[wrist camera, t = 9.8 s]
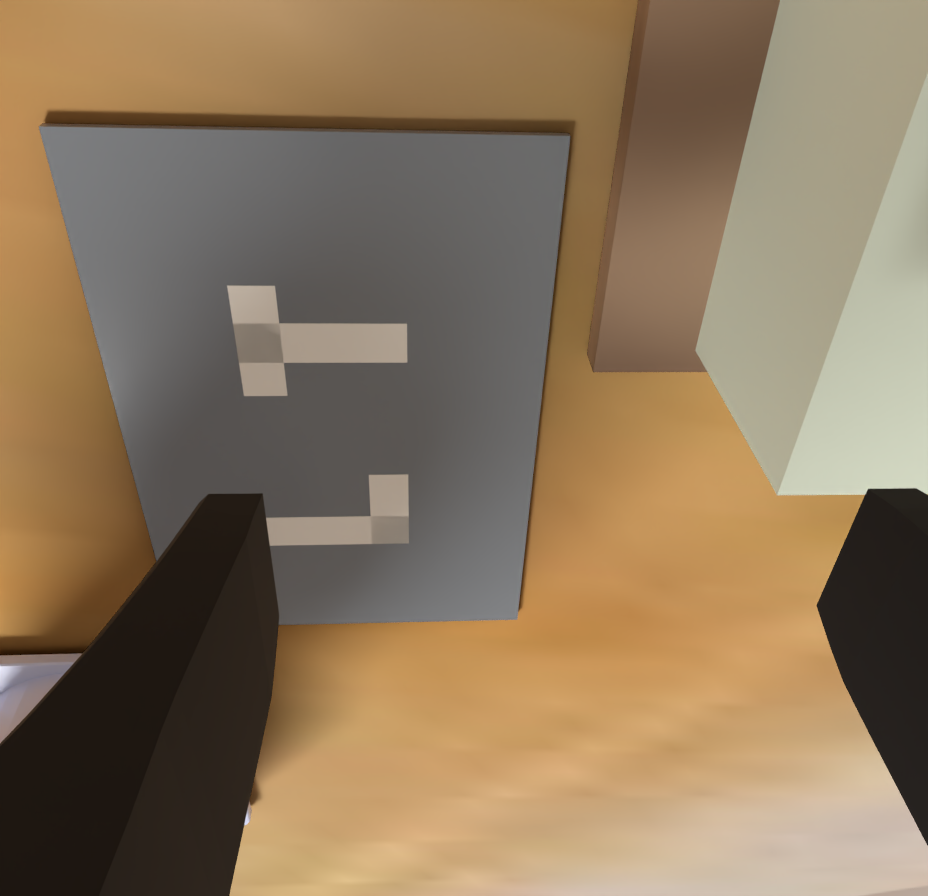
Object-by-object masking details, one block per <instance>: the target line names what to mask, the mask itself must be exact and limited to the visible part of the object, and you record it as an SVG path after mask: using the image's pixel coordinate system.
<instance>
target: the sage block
mask: <svg viewBox="0 0 928 896" xmlns="http://www.w3.org/2000/svg"><path fill="white" fill-rule="evenodd" d="M695 351H696V353H697V354H698V356H699V358H700V360H701V361H702V363H703V365H704V367H705V369H706V370H707V372H708V374H709V376H710V377H711V379H712V381H713V383H714V384H715V386H716V388H717V390H718V392H719V393H720V395H721V397H722V399H723V400H724V402H725V404H726V406H727V407H728V409H729V411H730V413H731V414H732V416H733V418H734V420H735V422H736V423H737V425H738V427H739V429H740V430H741V432H742V434H743V436H744V437H745V439H746V441H747V443H748V445H749V446H750V448H751V450H752V452H753V453H754V455H755V457H756V459H757V460H758V462H759V464H760V466H761V468H762V469H763V471H764V473H765V475H766V476H767V478H768V480H769V482H770V483H771V485H772V487H773V489H774V490H775V492H776V494H777V495H860V494H866V492H867V490H868V489H892V488H917V489H918V490H920V491H922V492H924V493H925V494H928V0H780V3H779V7H778V11H777V15H776V20H775V24H774V28H773V32H772V36H771V40H770V44H769V49H768V53H767V57H766V61H765V65H764V69H763V73H762V77H761V82H760V86H759V90H758V94H757V98H756V102H755V106H754V110H753V115H752V119H751V123H750V127H749V131H748V135H747V139H746V143H745V148H744V152H743V156H742V160H741V164H740V168H739V172H738V176H737V181H736V185H735V189H734V193H733V197H732V201H731V205H730V209H729V214H728V218H727V222H726V226H725V230H724V234H723V238H722V242H721V247H720V251H719V255H718V259H717V263H716V267H715V271H714V275H713V280H712V284H711V288H710V292H709V296H708V300H707V304H706V308H705V313H704V317H703V321H702V325H701V329H700V333H699V337H698V341H697V346H696V350H695Z"/></svg>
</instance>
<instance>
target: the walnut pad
mask: <svg viewBox="0 0 928 896" xmlns="http://www.w3.org/2000/svg"><path fill="white" fill-rule="evenodd" d="M779 3H780V0H638V6H637V13H636V20H635V26H634V33H633V40H632V47H631V54H630V61H629V68H628V75H627V82H626V89H625V96H624V102H623V109H622V116H621V123H620V130H619V137H618V144H617V151H616V158H615V165H614V171H613V178H612V185H611V192H610V199H609V206H608V213H607V220H606V227H605V234H604V240H603V247H602V254H601V261H600V268H599V275H598V282H597V289H596V296H595V303H594V310H593V316H592V323H591V330H590V337H589V344H588V351H587V355H588V358H589V361H590V364H591V367H592V369H593V372H707V370H706V369H705V367H704V365H703V363H702V361H701V360H700V358H699V356H698V354H697V353H696V351H695V350H696V346H697V341H698V337H699V333H700V329H701V325H702V321H703V317H704V313H705V308H706V304H707V300H708V296H709V292H710V288H711V284H712V280H713V275H714V271H715V267H716V263H717V259H718V255H719V251H720V247H721V242H722V238H723V234H724V230H725V226H726V222H727V218H728V214H729V209H730V205H731V201H732V197H733V193H734V189H735V185H736V181H737V176H738V172H739V168H740V164H741V160H742V156H743V152H744V148H745V143H746V139H747V135H748V131H749V127H750V123H751V119H752V115H753V110H754V106H755V102H756V98H757V94H758V90H759V86H760V82H761V77H762V73H763V69H764V65H765V61H766V57H767V53H768V49H769V44H770V40H771V36H772V32H773V28H774V24H775V20H776V15H777V11H778V7H779Z"/></svg>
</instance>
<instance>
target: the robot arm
mask: <svg viewBox="0 0 928 896" xmlns="http://www.w3.org/2000/svg"><path fill="white" fill-rule="evenodd" d="M817 608H818V611H819V614H820V617H821V620H822V623H823V626H824V629H825V632H826V635H827V638H828V641H829V644H830V647H831V650H832V653H833V655H834V658H835V661H836V663H837V666H838V669H839V671H840V674H841V677H842V679H843V682H844V684H845V686H846V688H847V690H848V692H849V694H850V696H851V698H852V700H853V702H854V704H855V706H856V708H857V710H858V712H859V714H860V716H861V718H862V720H863V722H864V724H865V726H866V728H867V730H868V732H869V734H870V736H871V738H872V740H873V742H874V743H875V745H876V747H877V749H878V751H879V753H880V755H881V757H882V759H883V761H884V763H885V765H886V766H887V768H888V770H889V772H890V774H891V776H892V778H893V780H894V782H895V784H896V786H897V788H898V790H899V791H900V793H901V795H902V797H903V799H904V801H905V803H906V805H907V807H908V809H909V811H910V813H911V815H912V816H913V818H914V820H915V822H916V824H917V826H918V828H919V830H920V832H921V834H922V836H923V838H924V839H925V841H926V843H927V845H928V495H927V494H925V493H924V492H922V491H920V490H918V489H917V488H892V489H868V490H867V492H866V494H865V497H864V499H863V501H862V504H861V506H860V508H859V510H858V513H857V515H856V517H855V519H854V522H853V524H852V526H851V529H850V531H849V533H848V535H847V538H846V540H845V542H844V544H843V547H842V549H841V551H840V554H839V556H838V558H837V560H836V563H835V565H834V567H833V569H832V572H831V574H830V576H829V578H828V581H827V583H826V585H825V588H824V590H823V592H822V594H821V597H820V599H819V601H818V603H817ZM278 625H279V609H278V602H277V595H276V587H275V580H274V573H273V565H272V558H271V551H270V543H269V536H268V529H267V521H266V514H265V507H264V499H263V493H255V494H208V495H207V496H206V497H204V498H203V499H202V500H201V501H200V502H199V503H198V505H197V506H196V508H195V509H194V511H193V512H192V513H191V515H190V516H189V518H188V519H187V520H186V522H185V523H184V525H183V526H182V527H181V529H180V530H179V532H178V533H177V534H176V536H175V537H174V539H173V540H172V541H171V543H170V544H169V545H168V547H167V548H166V549H165V551H164V552H163V554H162V555H161V556H160V558H159V559H158V560H157V561H156V563H155V564H154V565H153V567H152V568H151V569H150V571H149V572H148V573H147V575H146V576H145V577H144V579H143V580H142V581H141V583H140V584H139V585H138V586H137V588H136V589H135V590H134V591H133V593H132V594H131V595H130V596H129V597H128V599H127V600H126V601H125V602H124V604H123V605H122V606H121V607H120V609H119V610H118V611H117V612H116V614H115V615H114V616H113V617H112V619H111V620H110V621H109V622H108V623H107V625H106V626H105V627H104V628H103V630H102V631H101V632H100V633H99V635H98V636H97V637H96V638H95V639H94V641H93V642H92V643H91V644H90V645H89V646H88V648H87V649H86V650H85V651H84V652H83V653H77V654H37V655H0V896H229V894H230V888H231V884H232V879H233V874H234V870H235V865H236V861H237V856H238V851H239V847H240V842H241V837H242V833H243V828H244V825H246V824H248V823H249V822H250V818H251V811H252V810H251V806H250V802H249V800H250V796H251V791H252V786H253V782H254V777H255V773H256V768H257V763H258V759H259V754H260V749H261V744H262V740H263V735H264V730H265V725H266V721H267V716H268V711H269V706H270V701H271V696H272V687H273V677H274V668H275V658H276V647H277V636H278Z"/></svg>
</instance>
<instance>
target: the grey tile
mask: <svg viewBox="0 0 928 896" xmlns="http://www.w3.org/2000/svg"><path fill="white" fill-rule="evenodd" d="M39 130H40V133H41V137H42V141H43V144H44V148H45V152H46V155H47V159H48V163H49V166H50V170H51V174H52V178H53V181H54V185H55V189H56V192H57V196H58V200H59V203H60V207H61V211H62V214H63V218H64V222H65V226H66V229H67V233H68V237H69V240H70V244H71V248H72V251H73V255H74V259H75V262H76V266H77V270H78V274H79V277H80V281H81V285H82V288H83V292H84V296H85V299H86V303H87V307H88V310H89V314H90V318H91V322H92V325H93V329H94V333H95V336H96V340H97V344H98V347H99V351H100V355H101V358H102V362H103V366H104V370H105V373H106V377H107V381H108V384H109V388H110V392H111V395H112V399H113V403H114V406H115V410H116V414H117V418H118V421H119V425H120V429H121V432H122V436H123V440H124V443H125V447H126V451H127V454H128V458H129V462H130V466H131V469H132V473H133V477H134V480H135V484H136V488H137V491H138V495H139V499H140V502H141V506H142V510H143V514H144V517H145V521H146V525H147V528H148V532H149V536H150V539H151V543H152V547H153V550H154V554H155V558H156V561H157V560H158V559H159V558H160V556H161V555H162V554H163V552H164V551H165V549H166V548H167V547H168V545H169V544H170V543H171V541H172V540H173V539H174V537H175V536H176V534H177V533H178V532H179V530H180V529H181V527H182V526H183V525H184V523H185V522H186V520H187V519H188V518H189V516H190V515H191V513H192V512H193V511H194V509H195V508H196V506H197V505H198V503H199V502H200V501H201V500H202V499H203V498H204V497H206V496H207V495H208V494H255V493H263V499H264V507H265V514H266V521H267V529H268V536H269V543H270V551H271V558H272V565H273V573H274V580H275V587H276V595H277V602H278V609H279V625H300V624H344V623H387V622H430V621H474V620H517V617H518V608H519V599H520V589H521V580H522V571H523V562H524V553H525V544H526V535H527V526H528V517H529V508H530V499H531V490H532V481H533V471H534V462H535V453H536V444H537V435H538V426H539V417H540V408H541V399H542V390H543V381H544V372H545V363H546V353H547V344H548V335H549V326H550V317H551V308H552V299H553V290H554V281H555V272H556V263H557V254H558V245H559V235H560V226H561V217H562V208H563V199H564V190H565V181H566V172H567V163H568V154H569V145H570V134H569V133H539V132H484V131H430V130H375V129H321V128H266V127H212V126H157V125H103V124H48V123H42V124H41V125H40V126H39Z"/></svg>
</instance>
